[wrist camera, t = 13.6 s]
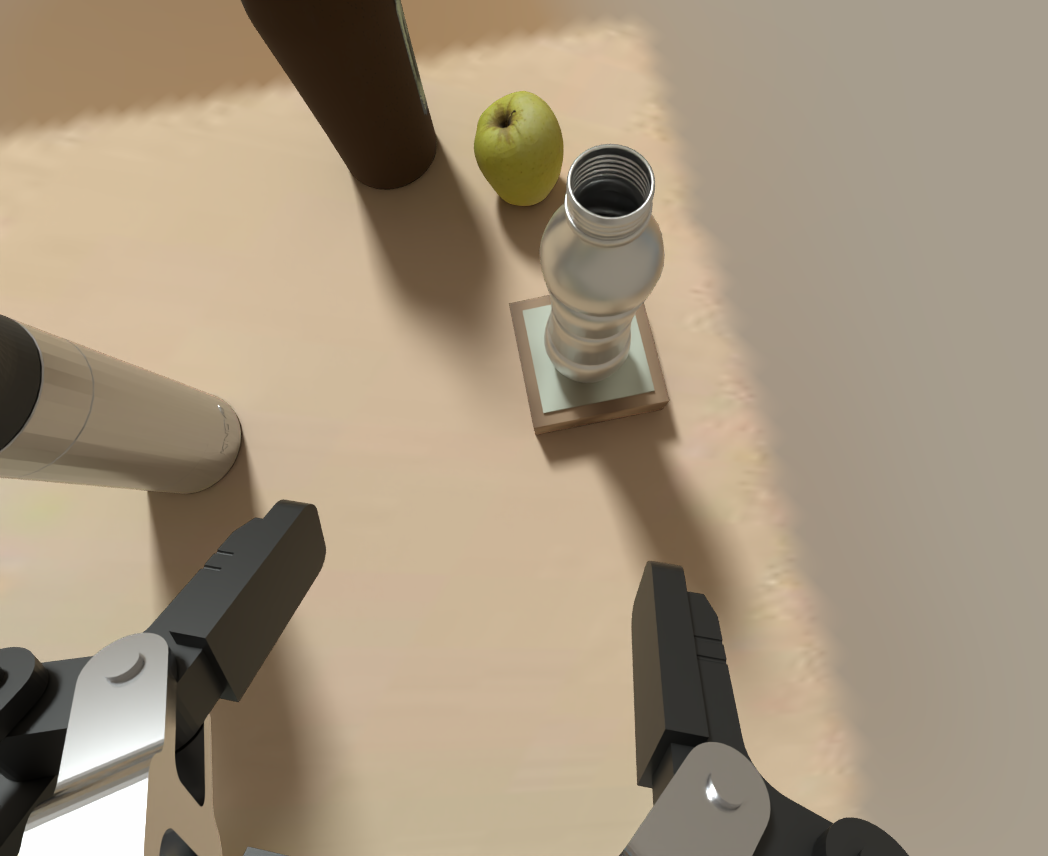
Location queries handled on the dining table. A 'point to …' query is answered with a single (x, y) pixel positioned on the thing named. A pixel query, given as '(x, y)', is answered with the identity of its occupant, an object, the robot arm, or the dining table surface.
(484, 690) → the dining table surface
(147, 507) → the dining table surface
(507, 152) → the apple
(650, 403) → the walnut base
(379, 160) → the olive oil
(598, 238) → the plastic bottle
